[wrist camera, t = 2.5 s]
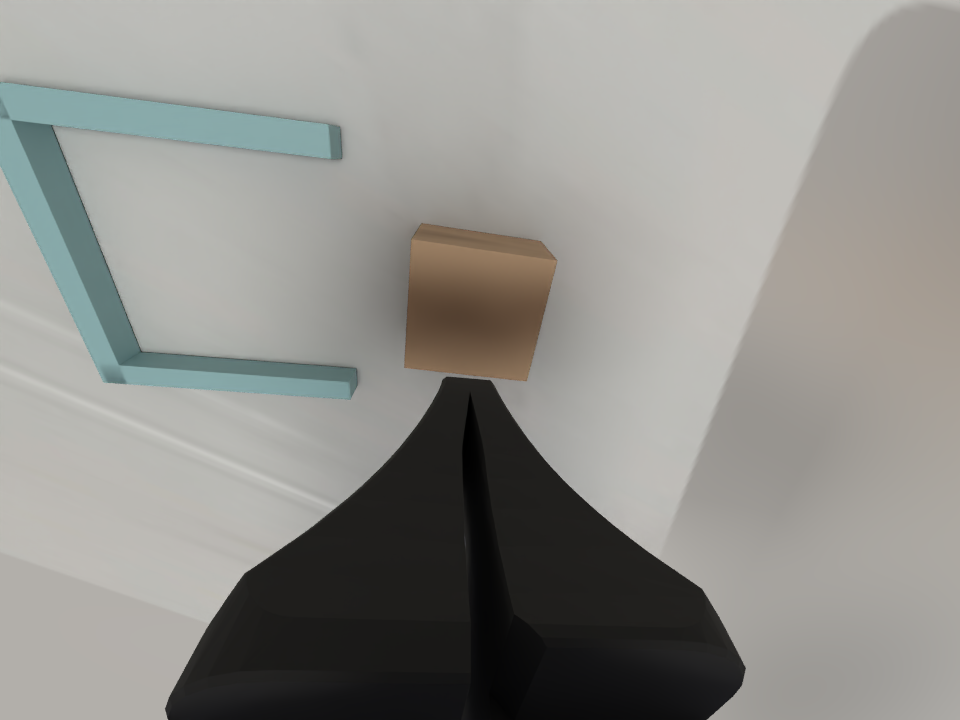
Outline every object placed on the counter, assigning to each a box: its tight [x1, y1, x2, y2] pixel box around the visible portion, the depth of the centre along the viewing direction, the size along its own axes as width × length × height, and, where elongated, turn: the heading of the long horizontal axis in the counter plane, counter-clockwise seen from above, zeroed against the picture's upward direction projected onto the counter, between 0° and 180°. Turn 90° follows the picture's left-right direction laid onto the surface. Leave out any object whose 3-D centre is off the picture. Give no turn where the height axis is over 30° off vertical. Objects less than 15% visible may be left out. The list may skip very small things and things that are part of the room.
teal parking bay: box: [0, 82, 357, 400], centre depth 18 cm, size 13×13×2 cm
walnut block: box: [404, 223, 557, 381], centre depth 18 cm, size 6×6×4 cm
